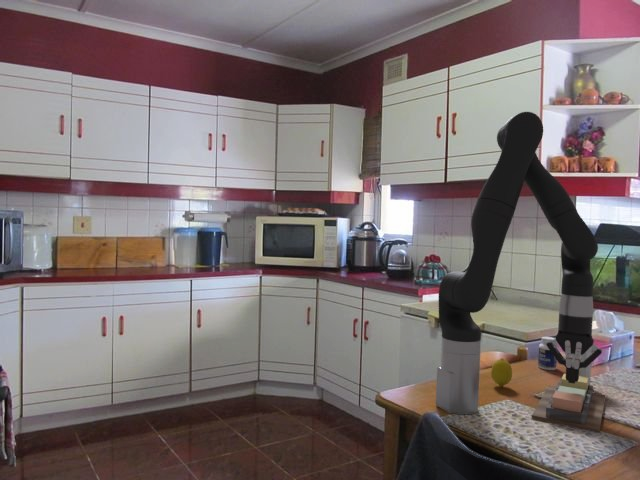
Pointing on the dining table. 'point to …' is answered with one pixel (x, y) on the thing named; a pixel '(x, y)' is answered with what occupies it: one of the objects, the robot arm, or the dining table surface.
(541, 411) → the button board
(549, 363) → the pill bottle
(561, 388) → the pad sage
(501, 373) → the lemon
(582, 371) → the skincare box
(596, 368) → the dining table surface
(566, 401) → the pad terracotta
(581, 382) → the pad ochre
